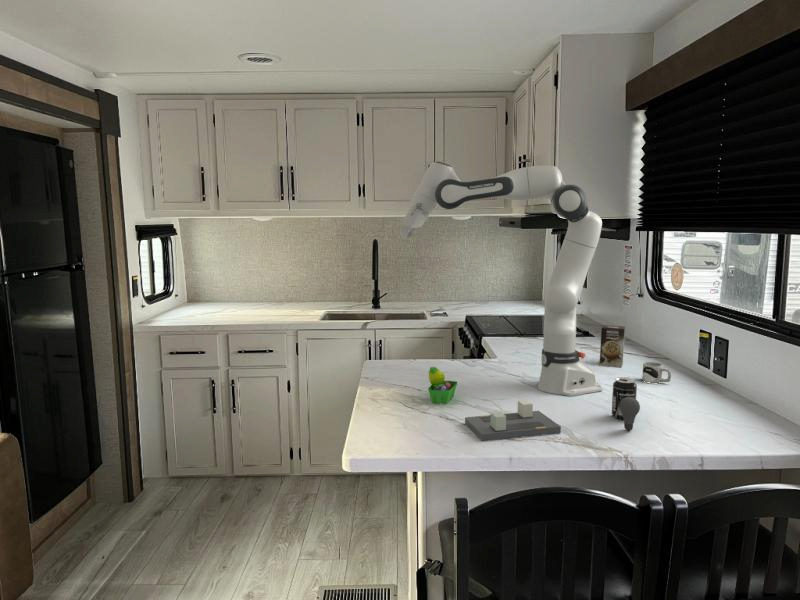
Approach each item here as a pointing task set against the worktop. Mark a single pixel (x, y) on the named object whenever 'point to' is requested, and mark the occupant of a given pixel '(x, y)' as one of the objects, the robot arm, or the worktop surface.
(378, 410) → the worktop surface
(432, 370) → the fruit basket
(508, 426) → the switch panel
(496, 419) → the sage tab
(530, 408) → the cream tab
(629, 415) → the light bulb
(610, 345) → the coffee box
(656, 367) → the mug
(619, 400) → the beverage can
